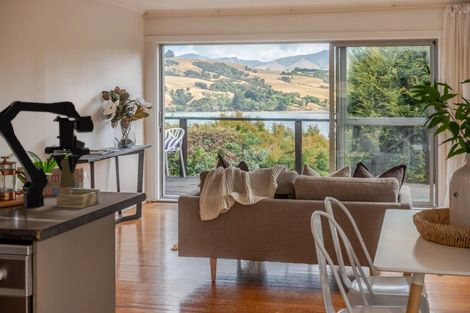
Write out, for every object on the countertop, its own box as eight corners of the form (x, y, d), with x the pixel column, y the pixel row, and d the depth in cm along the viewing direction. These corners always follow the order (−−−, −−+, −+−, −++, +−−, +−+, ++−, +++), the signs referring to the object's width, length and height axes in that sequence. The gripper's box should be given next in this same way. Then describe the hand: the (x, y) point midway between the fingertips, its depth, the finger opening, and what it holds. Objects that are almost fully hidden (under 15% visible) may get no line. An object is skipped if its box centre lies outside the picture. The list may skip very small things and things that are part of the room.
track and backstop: (74, 213, 208) (74, 196, 207) (45, 211, 211) (45, 194, 211) (100, 204, 226) (100, 188, 226) (73, 203, 230) (73, 187, 229)
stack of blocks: (32, 195, 251) (31, 167, 250) (38, 193, 257) (37, 166, 256) (79, 195, 249) (78, 168, 248) (84, 193, 256) (83, 166, 255)
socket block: (82, 207, 214) (82, 196, 214) (56, 206, 217) (56, 194, 217) (97, 203, 225) (96, 191, 224) (72, 201, 228) (72, 190, 227)
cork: (66, 187, 221) (66, 159, 220) (56, 186, 224) (56, 159, 223) (79, 186, 226) (78, 158, 225) (68, 184, 229) (68, 157, 228)
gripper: (98, 132, 226) (99, 171, 228) (62, 131, 235) (63, 169, 236) (79, 134, 216) (80, 174, 218) (42, 133, 225) (44, 172, 226)
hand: (67, 172), depth 225 cm, fingers closed on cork, 5 cm apart
